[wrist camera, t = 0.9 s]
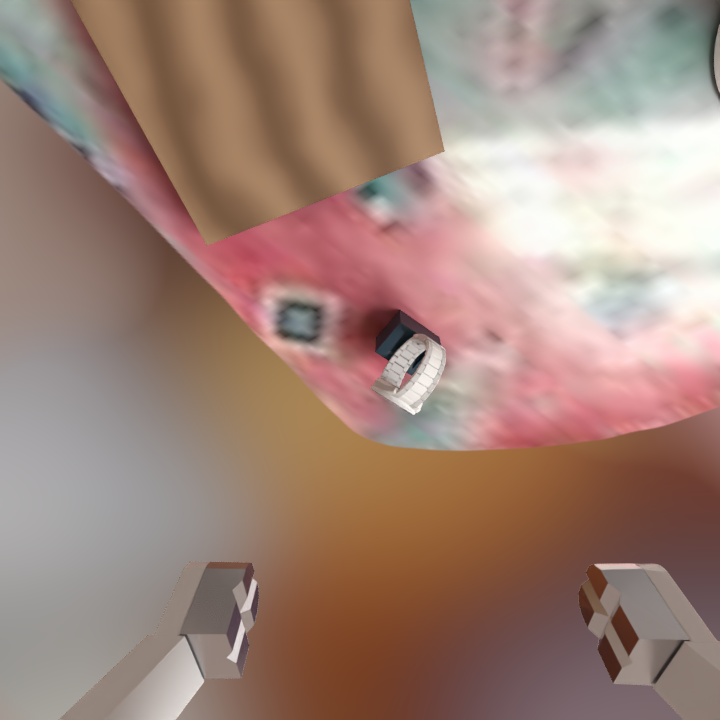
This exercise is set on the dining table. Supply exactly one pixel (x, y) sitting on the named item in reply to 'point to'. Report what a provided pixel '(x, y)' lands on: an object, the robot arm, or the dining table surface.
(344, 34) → the brown flat block
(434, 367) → the watch
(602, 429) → the dining table surface
